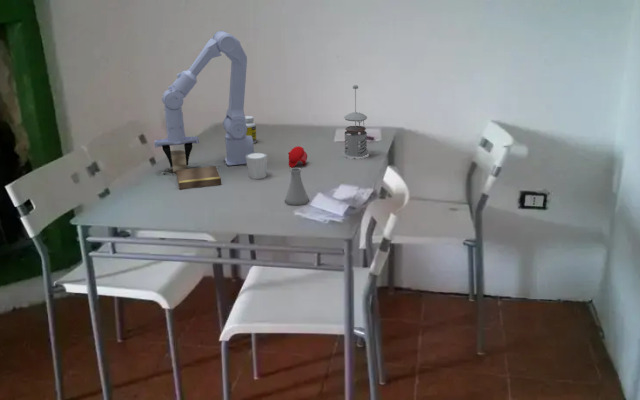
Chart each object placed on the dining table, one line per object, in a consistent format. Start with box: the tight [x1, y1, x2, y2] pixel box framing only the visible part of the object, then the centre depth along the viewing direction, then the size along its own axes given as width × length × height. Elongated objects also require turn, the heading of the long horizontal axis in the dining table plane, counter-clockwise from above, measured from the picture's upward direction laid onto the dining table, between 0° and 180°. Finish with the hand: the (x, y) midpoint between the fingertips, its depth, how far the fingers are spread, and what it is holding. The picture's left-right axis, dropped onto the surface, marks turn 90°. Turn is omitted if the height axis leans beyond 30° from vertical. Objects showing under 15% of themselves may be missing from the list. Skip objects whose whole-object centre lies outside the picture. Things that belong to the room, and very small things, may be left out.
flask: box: [284, 167, 310, 206], centre depth 195 cm, size 7×7×10 cm
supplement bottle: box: [245, 115, 257, 144], centre depth 253 cm, size 5×5×10 cm
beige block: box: [171, 148, 188, 174], centre depth 225 cm, size 5×6×6 cm
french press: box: [342, 84, 369, 157], centre depth 233 cm, size 10×12×25 cm
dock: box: [175, 165, 222, 190], centre depth 215 cm, size 13×13×2 cm
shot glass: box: [246, 152, 268, 180], centre depth 217 cm, size 7×7×7 cm
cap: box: [287, 145, 308, 169], centre depth 227 cm, size 8×6×6 cm
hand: (179, 165), depth 226 cm, fingers closed on beige block, 4 cm apart
